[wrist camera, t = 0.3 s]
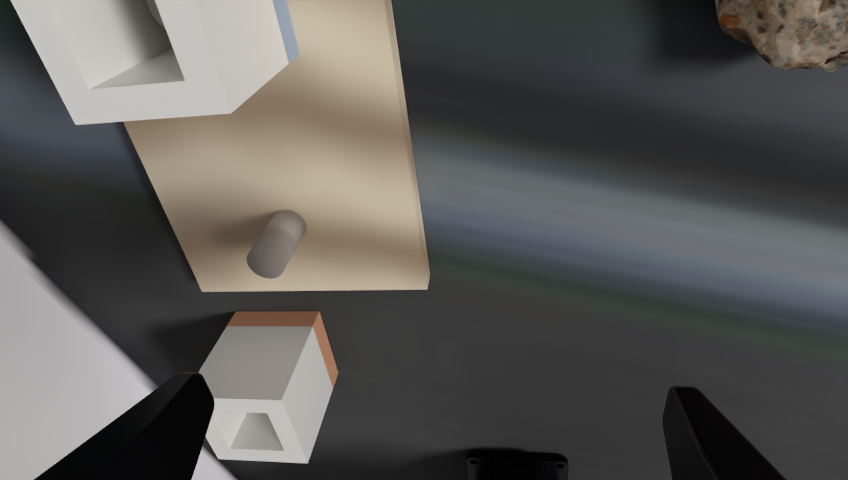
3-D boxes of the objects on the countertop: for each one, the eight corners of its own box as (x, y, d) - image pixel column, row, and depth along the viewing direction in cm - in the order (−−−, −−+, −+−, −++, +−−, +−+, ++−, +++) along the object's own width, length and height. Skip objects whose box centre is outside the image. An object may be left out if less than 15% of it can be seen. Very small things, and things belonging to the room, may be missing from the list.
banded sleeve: (338, 372, 31) (307, 463, 27) (261, 371, 32) (218, 459, 27) (319, 311, 29) (281, 400, 24) (235, 311, 30) (182, 397, 25)
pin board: (430, 274, 26) (418, 333, 23) (212, 277, 28) (172, 332, 25) (365, -180, 16) (328, -195, 13) (35, -124, 18) (-73, -124, 15)
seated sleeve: (299, 54, 19) (231, 113, 14) (178, 65, 20) (75, 124, 15) (260, -106, 17) (159, -99, 12) (122, -85, 17) (-27, -71, 13)
